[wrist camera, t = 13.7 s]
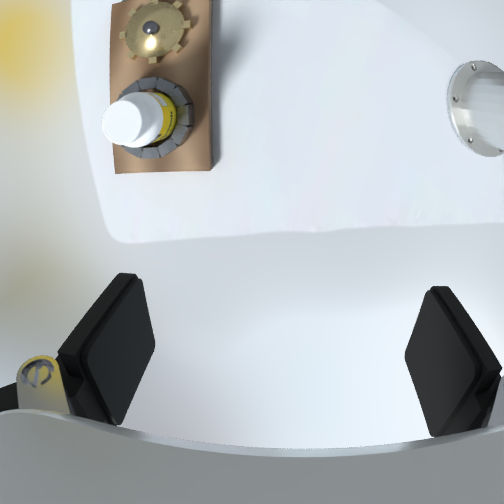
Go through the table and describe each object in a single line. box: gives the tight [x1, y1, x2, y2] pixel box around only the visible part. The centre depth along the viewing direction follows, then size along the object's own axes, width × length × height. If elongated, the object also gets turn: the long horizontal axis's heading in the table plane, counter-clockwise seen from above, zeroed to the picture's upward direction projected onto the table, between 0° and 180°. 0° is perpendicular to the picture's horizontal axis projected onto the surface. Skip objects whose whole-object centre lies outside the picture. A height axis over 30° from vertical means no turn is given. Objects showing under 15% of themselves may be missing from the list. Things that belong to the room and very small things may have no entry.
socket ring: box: [117, 77, 195, 159], centre depth 31 cm, size 9×9×2 cm
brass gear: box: [119, 0, 193, 64], centre depth 27 cm, size 8×8×2 cm
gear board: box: [110, 0, 212, 174], centre depth 31 cm, size 12×22×2 cm, turn 0°
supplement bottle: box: [102, 92, 177, 147], centre depth 28 cm, size 5×5×10 cm
